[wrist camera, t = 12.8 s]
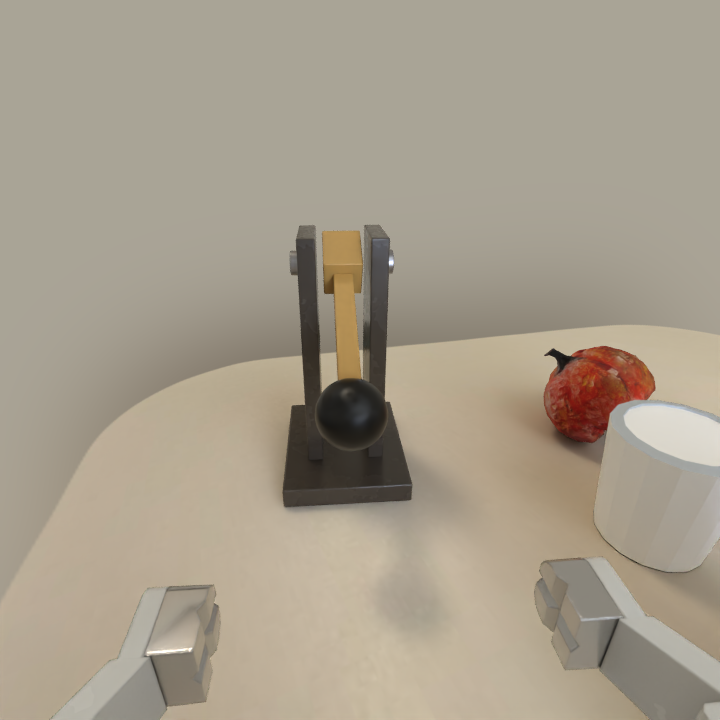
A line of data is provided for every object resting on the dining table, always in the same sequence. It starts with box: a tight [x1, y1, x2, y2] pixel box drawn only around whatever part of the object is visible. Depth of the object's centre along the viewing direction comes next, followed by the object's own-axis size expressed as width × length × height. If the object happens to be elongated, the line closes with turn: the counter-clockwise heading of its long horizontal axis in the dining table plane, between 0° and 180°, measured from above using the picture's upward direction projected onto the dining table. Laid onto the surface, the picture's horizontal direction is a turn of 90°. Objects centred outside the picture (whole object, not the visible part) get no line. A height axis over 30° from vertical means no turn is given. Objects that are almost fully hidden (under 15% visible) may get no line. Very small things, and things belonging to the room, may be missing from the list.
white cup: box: [594, 400, 720, 572], centre depth 25 cm, size 7×7×7 cm
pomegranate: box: [544, 346, 655, 443], centre depth 34 cm, size 7×7×10 cm
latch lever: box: [315, 231, 388, 451], centre depth 23 cm, size 13×3×3 cm
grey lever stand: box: [283, 225, 412, 507], centre depth 29 cm, size 10×8×16 cm
